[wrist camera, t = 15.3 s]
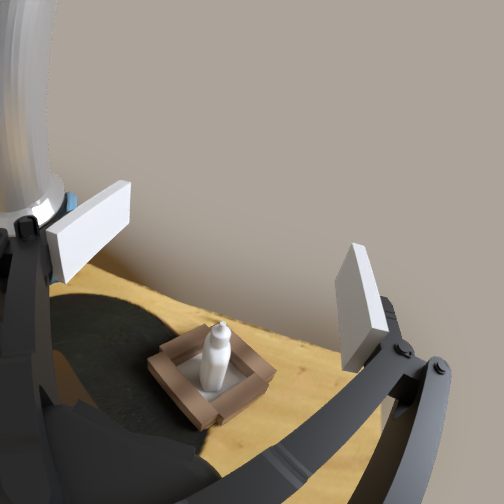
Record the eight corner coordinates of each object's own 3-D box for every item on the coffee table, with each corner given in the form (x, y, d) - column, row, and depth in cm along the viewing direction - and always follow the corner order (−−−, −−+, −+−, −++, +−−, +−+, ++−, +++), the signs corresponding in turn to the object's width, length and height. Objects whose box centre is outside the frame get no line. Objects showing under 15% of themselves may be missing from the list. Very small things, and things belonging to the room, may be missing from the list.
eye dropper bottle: (188, 383, 38) (194, 330, 32) (206, 357, 43) (217, 302, 36) (215, 397, 37) (229, 347, 31) (231, 370, 42) (248, 316, 36)
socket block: (144, 366, 39) (143, 353, 37) (215, 330, 49) (217, 317, 47) (205, 438, 32) (207, 430, 30) (275, 386, 42) (281, 374, 40)
